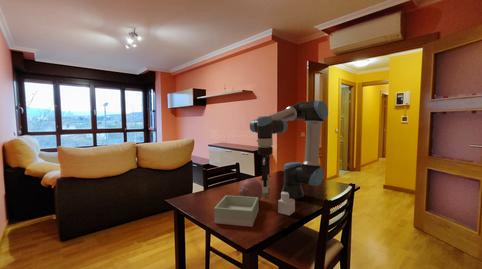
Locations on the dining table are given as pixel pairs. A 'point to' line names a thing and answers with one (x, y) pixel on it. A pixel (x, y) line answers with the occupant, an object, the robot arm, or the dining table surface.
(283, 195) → the medicine bottle
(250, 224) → the box
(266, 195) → the dowel
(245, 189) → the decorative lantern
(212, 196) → the dining table surface
